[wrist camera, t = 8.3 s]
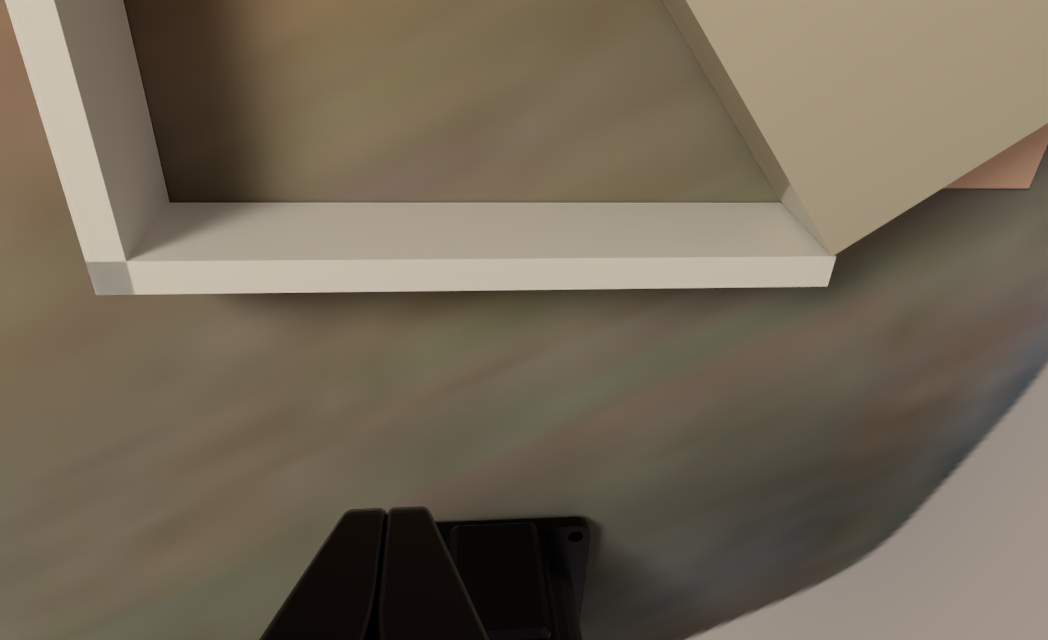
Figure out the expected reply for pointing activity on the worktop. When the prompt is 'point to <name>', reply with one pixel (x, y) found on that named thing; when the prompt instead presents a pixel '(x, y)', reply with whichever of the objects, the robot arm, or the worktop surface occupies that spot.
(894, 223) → the worktop surface
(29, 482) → the worktop surface
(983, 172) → the terracotta mat
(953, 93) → the electrical outlet
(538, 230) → the white rectangular open frame
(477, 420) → the worktop surface
